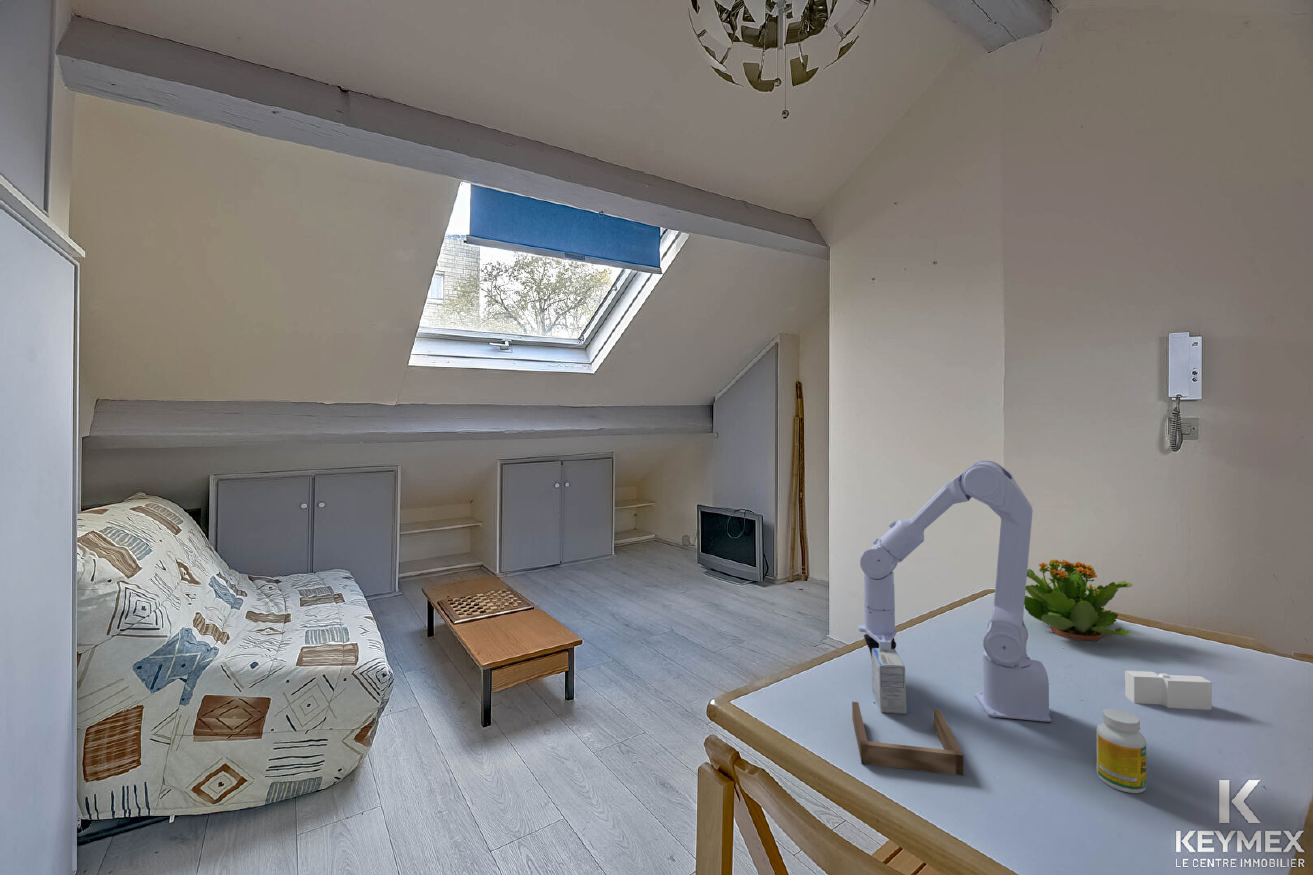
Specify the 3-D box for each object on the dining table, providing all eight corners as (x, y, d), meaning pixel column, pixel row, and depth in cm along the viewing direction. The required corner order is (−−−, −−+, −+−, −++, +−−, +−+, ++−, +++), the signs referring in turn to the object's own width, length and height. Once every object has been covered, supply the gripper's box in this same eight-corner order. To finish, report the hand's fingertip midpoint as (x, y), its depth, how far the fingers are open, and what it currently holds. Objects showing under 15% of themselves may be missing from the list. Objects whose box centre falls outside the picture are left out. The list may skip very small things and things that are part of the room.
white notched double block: (1222, 707, 98) (1222, 675, 98) (1221, 732, 90) (1221, 698, 90) (1113, 679, 109) (1113, 651, 108) (1104, 700, 101) (1104, 670, 101)
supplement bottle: (1094, 765, 81) (1094, 702, 81) (1142, 777, 79) (1142, 711, 78) (1099, 786, 77) (1099, 718, 77) (1150, 799, 74) (1150, 729, 74)
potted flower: (1174, 656, 118) (1174, 574, 117) (1063, 658, 118) (1062, 577, 117) (1085, 615, 143) (1085, 548, 142) (993, 617, 143) (992, 550, 142)
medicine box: (906, 715, 97) (906, 666, 96) (879, 713, 98) (879, 664, 97) (896, 693, 104) (896, 648, 104) (871, 691, 105) (871, 646, 105)
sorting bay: (940, 727, 92) (940, 709, 92) (963, 775, 80) (963, 755, 80) (852, 718, 96) (852, 701, 96) (861, 763, 83) (861, 743, 83)
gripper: (854, 594, 118) (855, 656, 119) (862, 617, 104) (863, 688, 105) (889, 595, 117) (890, 659, 117) (902, 619, 102) (903, 691, 103)
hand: (880, 673), depth 111 cm, fingers closed
